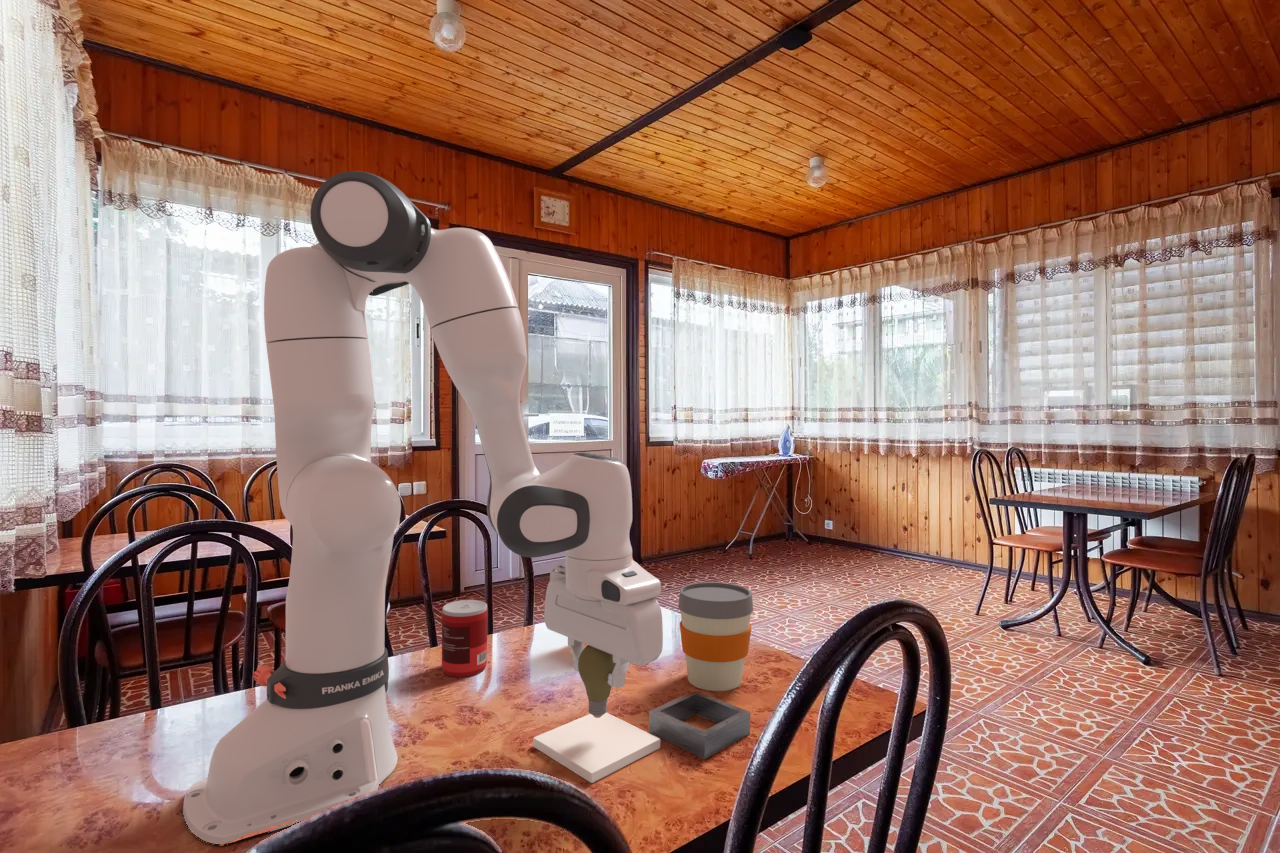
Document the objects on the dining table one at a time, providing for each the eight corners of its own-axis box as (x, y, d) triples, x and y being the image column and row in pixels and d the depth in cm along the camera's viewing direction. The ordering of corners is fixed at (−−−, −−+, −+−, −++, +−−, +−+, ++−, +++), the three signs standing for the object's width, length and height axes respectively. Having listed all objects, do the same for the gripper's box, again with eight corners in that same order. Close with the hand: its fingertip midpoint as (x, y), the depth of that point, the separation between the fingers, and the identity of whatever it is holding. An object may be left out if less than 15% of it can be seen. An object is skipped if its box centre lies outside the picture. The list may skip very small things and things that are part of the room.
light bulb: (621, 707, 89) (622, 636, 88) (615, 728, 83) (617, 652, 83) (581, 704, 89) (582, 633, 89) (572, 725, 84) (574, 649, 83)
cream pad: (591, 783, 78) (592, 773, 78) (533, 746, 86) (533, 737, 86) (660, 747, 86) (660, 738, 86) (600, 717, 95) (600, 709, 95)
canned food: (483, 658, 117) (484, 597, 117) (490, 674, 110) (490, 610, 110) (439, 663, 115) (440, 601, 114) (443, 680, 107) (443, 614, 107)
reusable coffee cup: (672, 692, 104) (674, 599, 103) (681, 662, 116) (682, 579, 116) (752, 699, 101) (753, 604, 101) (752, 668, 114) (753, 583, 114)
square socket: (704, 759, 83) (704, 736, 83) (649, 732, 90) (649, 710, 90) (749, 733, 90) (750, 712, 90) (695, 709, 97) (695, 690, 97)
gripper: (533, 565, 91) (533, 662, 91) (635, 594, 76) (634, 710, 77) (568, 558, 95) (568, 651, 96) (671, 584, 81) (670, 694, 81)
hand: (598, 678), depth 86 cm, fingers closed on light bulb, 5 cm apart
